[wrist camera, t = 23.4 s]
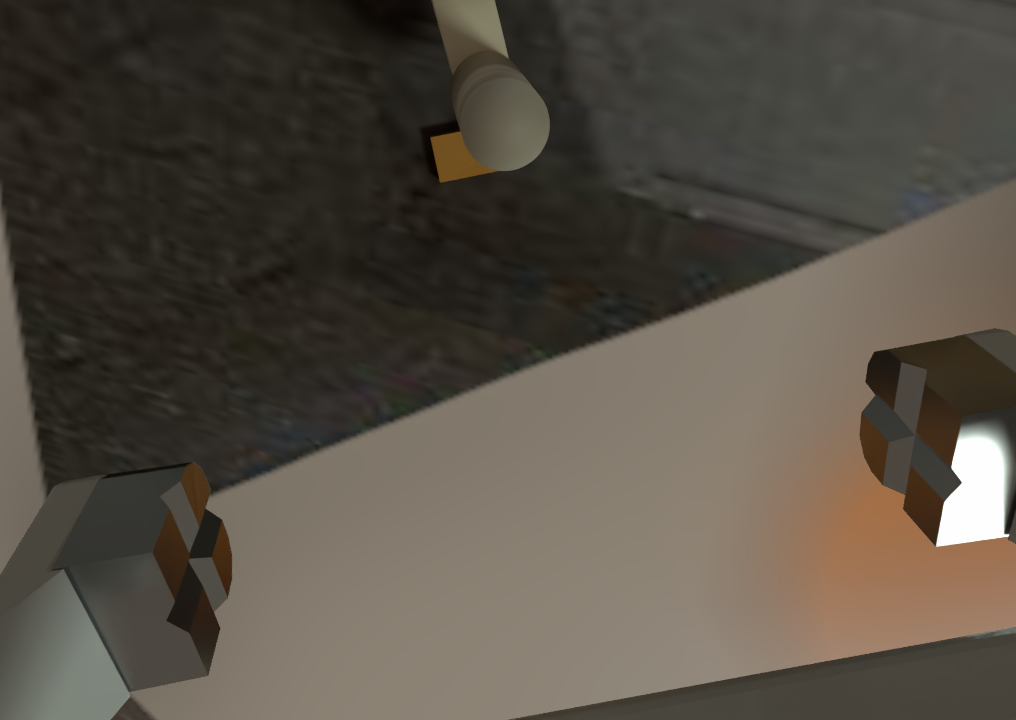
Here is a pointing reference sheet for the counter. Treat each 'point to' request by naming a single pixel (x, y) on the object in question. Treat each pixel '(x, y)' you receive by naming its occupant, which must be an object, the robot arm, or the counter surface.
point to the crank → (489, 88)
